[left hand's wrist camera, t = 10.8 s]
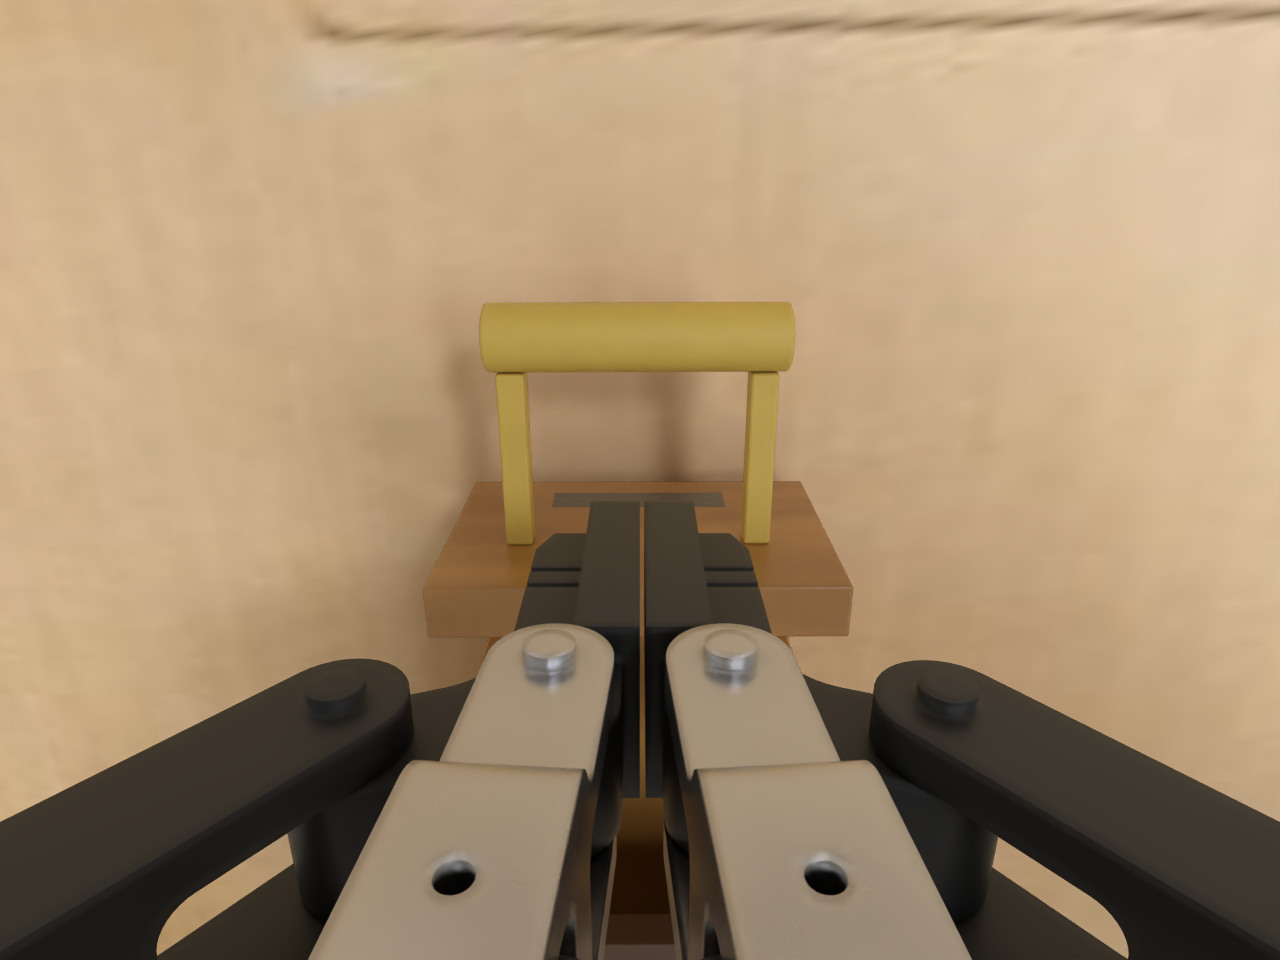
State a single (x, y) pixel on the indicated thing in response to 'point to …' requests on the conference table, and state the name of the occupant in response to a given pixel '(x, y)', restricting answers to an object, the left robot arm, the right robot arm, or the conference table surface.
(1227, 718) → the conference table surface
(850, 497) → the conference table surface
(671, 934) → the cabinet
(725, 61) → the conference table surface
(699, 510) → the drawer
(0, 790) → the conference table surface
